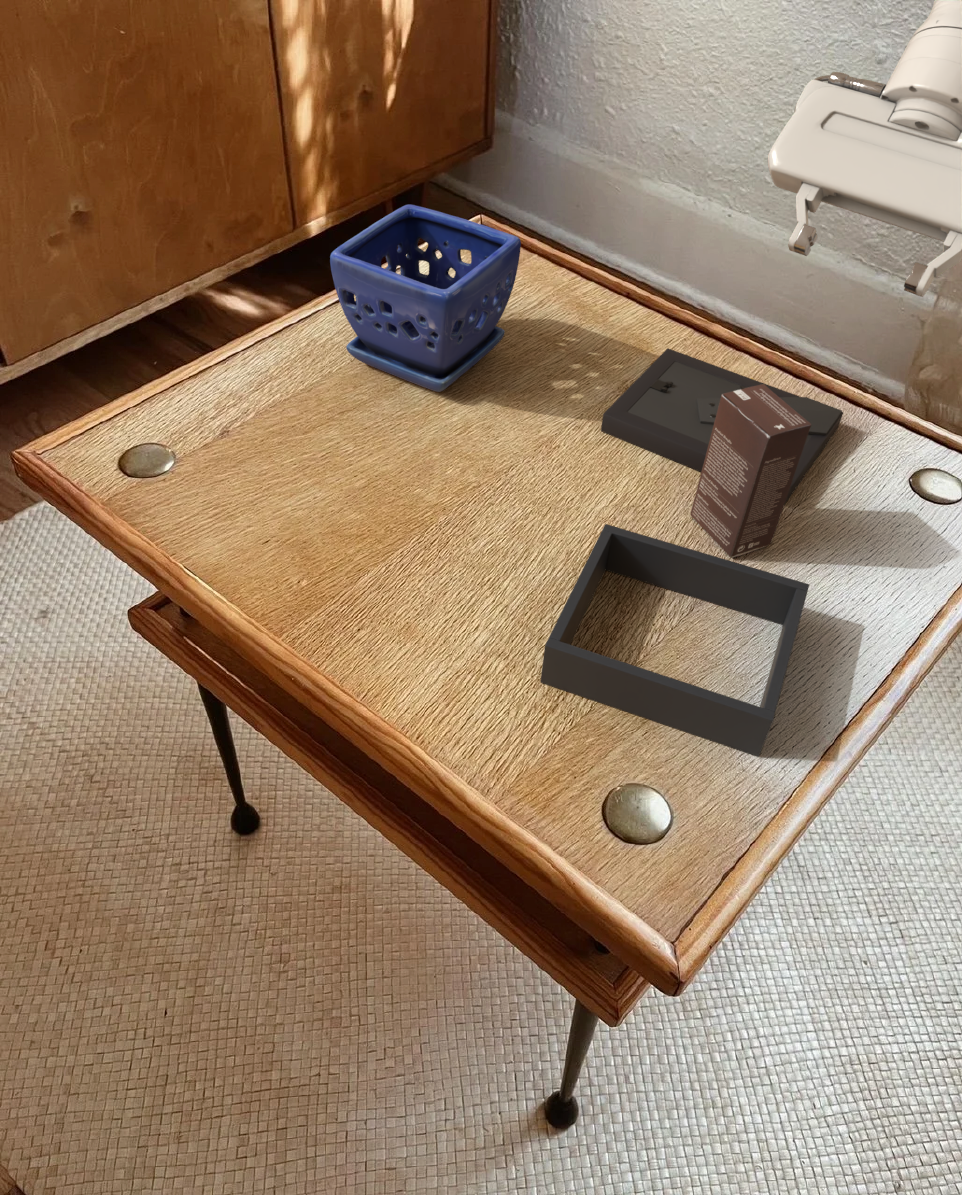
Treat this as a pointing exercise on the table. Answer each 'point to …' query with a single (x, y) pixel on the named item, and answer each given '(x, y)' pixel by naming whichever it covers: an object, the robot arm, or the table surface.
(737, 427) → the box
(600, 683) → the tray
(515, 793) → the table surface
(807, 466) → the picture frame
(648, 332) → the table surface
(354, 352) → the flower pot
